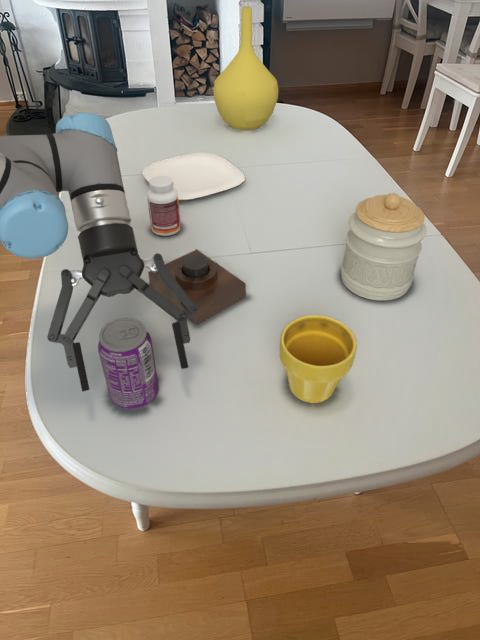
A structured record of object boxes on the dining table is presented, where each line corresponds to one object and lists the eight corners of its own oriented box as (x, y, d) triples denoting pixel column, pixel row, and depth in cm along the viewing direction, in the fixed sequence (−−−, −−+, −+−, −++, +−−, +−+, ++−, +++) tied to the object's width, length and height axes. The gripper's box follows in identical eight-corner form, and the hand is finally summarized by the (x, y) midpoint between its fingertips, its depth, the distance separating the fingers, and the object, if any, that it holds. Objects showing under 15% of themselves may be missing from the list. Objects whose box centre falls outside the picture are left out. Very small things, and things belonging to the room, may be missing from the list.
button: (178, 270, 91) (177, 260, 89) (198, 261, 93) (197, 251, 92) (193, 282, 88) (192, 272, 87) (213, 272, 91) (213, 262, 89)
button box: (149, 286, 95) (146, 263, 92) (197, 262, 100) (196, 241, 97) (196, 324, 87) (195, 301, 84) (245, 297, 93) (246, 275, 89)
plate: (255, 186, 124) (255, 180, 123) (173, 211, 115) (173, 204, 114) (210, 153, 137) (210, 147, 136) (134, 173, 129) (133, 166, 128)
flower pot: (342, 421, 72) (352, 374, 66) (269, 405, 74) (272, 358, 68) (350, 368, 80) (360, 321, 73) (284, 355, 82) (289, 308, 75)
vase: (232, 141, 143) (232, 19, 123) (203, 119, 155) (198, 4, 135) (288, 129, 150) (296, 11, 130) (256, 108, 162) (259, -2, 142)
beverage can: (152, 370, 79) (143, 310, 71) (164, 404, 74) (156, 344, 66) (106, 382, 77) (91, 322, 69) (115, 418, 73) (100, 358, 65)
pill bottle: (186, 231, 109) (182, 182, 102) (160, 240, 106) (154, 191, 99) (171, 218, 113) (166, 170, 105) (146, 227, 110) (139, 179, 103)
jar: (389, 312, 90) (411, 223, 78) (326, 282, 96) (338, 196, 84) (423, 278, 97) (448, 192, 85) (362, 252, 103) (378, 168, 92)
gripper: (3, 237, 65) (37, 402, 65) (196, 207, 71) (228, 359, 70) (16, 249, 73) (46, 398, 72) (189, 221, 78) (219, 359, 78)
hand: (136, 379), depth 71 cm, fingers open, 13 cm apart
